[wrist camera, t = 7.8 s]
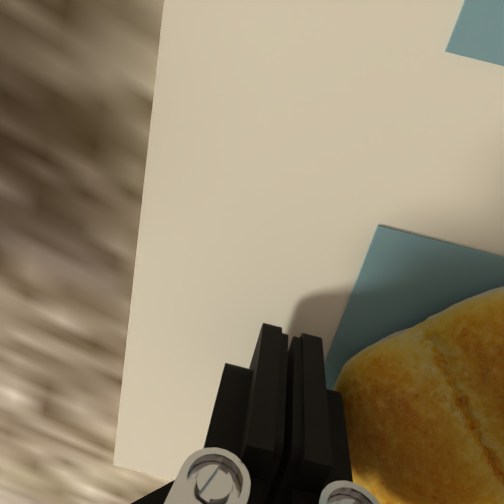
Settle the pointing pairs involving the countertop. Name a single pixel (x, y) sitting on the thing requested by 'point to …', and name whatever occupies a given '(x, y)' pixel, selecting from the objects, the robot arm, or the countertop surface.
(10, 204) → the countertop surface
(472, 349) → the bread roll
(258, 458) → the robot arm
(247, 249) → the placemat
